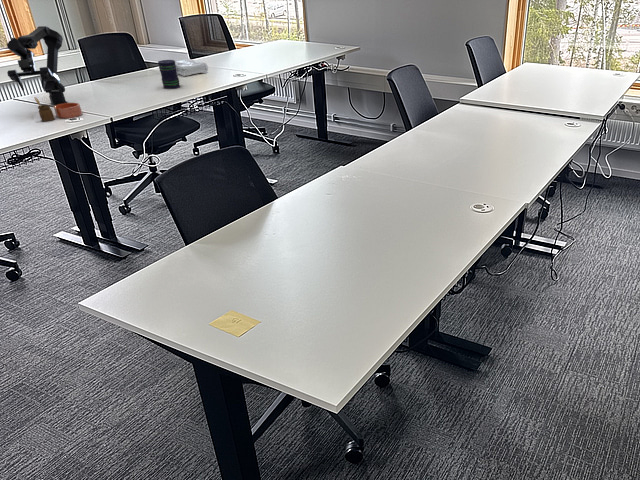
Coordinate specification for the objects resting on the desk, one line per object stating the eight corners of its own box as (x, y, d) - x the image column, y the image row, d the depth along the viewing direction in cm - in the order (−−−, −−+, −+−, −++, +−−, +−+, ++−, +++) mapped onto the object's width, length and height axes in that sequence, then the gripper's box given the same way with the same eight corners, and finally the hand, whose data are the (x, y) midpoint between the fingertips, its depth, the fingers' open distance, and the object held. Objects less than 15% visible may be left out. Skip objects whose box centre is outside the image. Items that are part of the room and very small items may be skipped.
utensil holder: (57, 118, 290) (49, 94, 283) (48, 121, 285) (40, 97, 278) (47, 117, 291) (39, 93, 284) (38, 121, 286) (30, 96, 279)
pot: (75, 111, 302) (72, 101, 299) (86, 114, 296) (83, 104, 293) (52, 115, 294) (49, 106, 291) (64, 119, 288) (60, 109, 285)
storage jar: (164, 89, 342) (158, 63, 334) (162, 86, 350) (157, 60, 342) (181, 88, 346) (175, 62, 338) (179, 84, 353) (174, 59, 345)
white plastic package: (188, 66, 399) (186, 55, 395) (209, 72, 383) (207, 60, 379) (163, 71, 388) (160, 59, 384) (183, 77, 372) (181, 64, 367)
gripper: (-1, 53, 277) (5, 83, 276) (41, 50, 282) (47, 79, 281) (9, 65, 288) (15, 94, 286) (49, 62, 293) (55, 90, 291)
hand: (33, 89), depth 286 cm, fingers open, 9 cm apart
